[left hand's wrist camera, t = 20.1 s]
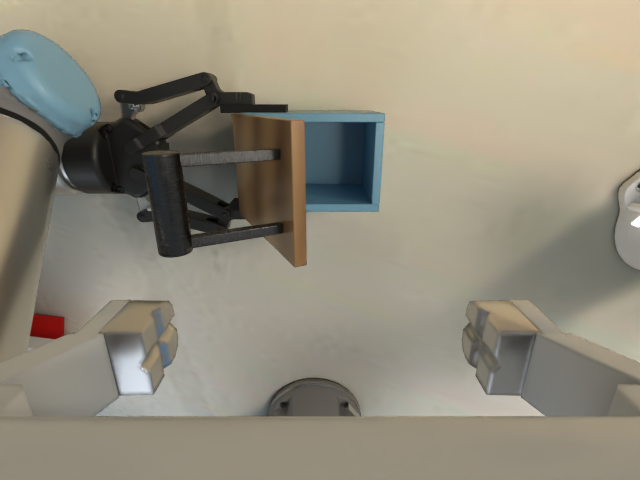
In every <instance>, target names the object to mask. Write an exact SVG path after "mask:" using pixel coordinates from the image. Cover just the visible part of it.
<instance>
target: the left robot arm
mask: <svg viewBox="0 0 640 480" xmlns="http://www.w3.org/2000/svg"><path fill="white" fill-rule="evenodd" d="M639 183H640V171H639V172H637V173H636V174H635V175H634V176H632V177H631V178H630V179H628V180H627V181H626V182H625V183H623V184H622V185H621V187H620V188H619V191H618V200H619V207H620V212H619V216H618V220H617V223H616V227H615V245H616V249H617V251H618V254H619V255H620V257H621V258H622V259H623V261H624V262H625V263H627V264H628V265H629V266H631V267H633V268H635V269H638V270H640V185H639V186H638V184H639ZM173 317H174V310H173V306H172V304H171V303H170V302H169V301H148V300H133V301H132V300H114V301H110V302H109V303H108V304H107V305H106V306H105V307H104V308H102V309H101V310H100V311H99V312H98V313H97V314H96V315H95V316H94V317H93V318H92V319H91V320H90V321H89V322H87V323H86V324H85V325H84V326H83V327H82V328H81V329H80V330H79V331H78V332H77V333H69V334H67V335H65V336H62V337H60V338H58V339H55V340H53V341H50V342H48V343H46V344H43V345H41V346H39V347H36V348H34V349H31V350H29V351H27V352H24V353H22V354H20V355H17V356H15V357H12V358H10V359H8V360H5V361H3V362H0V480H640V363H639V362H637V361H635V360H632V359H630V358H627V357H625V356H623V355H620V354H618V353H616V352H613V351H611V350H608V349H606V348H604V347H601V346H599V345H597V344H594V343H592V342H589V341H587V340H585V339H582V338H580V337H578V336H575V335H573V334H571V333H563V332H562V331H561V330H560V329H559V328H558V327H557V326H556V325H555V324H554V323H553V322H552V321H550V320H549V319H548V318H547V317H546V316H545V315H544V314H543V313H542V312H541V311H540V310H539V309H538V308H537V307H536V306H534V305H533V304H532V303H531V302H530V301H527V300H501V301H471V302H469V304H468V306H467V310H466V317H467V318H468V320H469V321H470V323H469V324H468V325H467V326H466V327H465V328H464V329H463V335H462V346H463V352H464V355H465V358H466V360H467V361H468V363H469V364H470V365H471V366H473V367H475V368H476V369H477V370H476V377H477V379H478V381H479V383H480V384H481V386H482V388H483V389H484V391H485V393H486V395H517V396H521V398H523V399H524V400H525V401H527V402H528V403H529V404H531V405H532V406H533V407H534V408H536V409H537V410H538V411H540V412H541V413H542V414H544V415H545V416H95V415H97V414H98V413H99V412H100V411H102V410H103V409H104V408H106V407H107V406H108V405H110V404H111V403H112V402H114V401H115V400H116V399H118V398H119V396H123V395H154V393H155V391H156V389H157V388H158V386H159V384H160V383H161V381H162V379H163V377H164V370H163V369H164V368H165V367H167V366H169V365H170V364H171V363H172V361H173V360H174V358H175V355H176V351H177V347H178V334H177V329H176V328H175V327H174V326H173V325H172V324H171V323H170V321H171V320H172V318H173Z"/></svg>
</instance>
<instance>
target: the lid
mask: <svg viewBox="0 0 640 480" xmlns="http://www.w3.org/2000/svg"><path fill="white" fill-rule="evenodd" d="M232 126H233V138H234V150H231V151H214V152H196V153H180V152H179V151H174V150H160V151H149V152H144V153H142V159H143V165H144V171H145V177H146V183H147V189H148V194H149V200H150V206H151V212H152V218H153V224H154V229H155V235H156V241H157V247H158V253H159V255H160V256H163V257H179V256H183V255H186V254H189V253H190V252H191V251H192V250H193V248H196V247H202V246H208V245H214V244H221V243H227V242H233V241H239V240H245V239H252V238H258V237H264V238H265V239H266V240H267V241H268V242H269V243H270V244H271V245H272V246H274V247H275V248H276V249H277V250H278V251H279V252H280V253H281V254H282V255H283V256H284V257H285V258H286V259H287V260H288V261H289V262H290V263H291V264H292V265H293V266H294V267H299V266H304V265H306V264H307V259H306V188H305V121H304V120H300V119H290V118H280V117H271V116H261V115H251V114H241V113H237V114H232ZM229 163H236V174H237V187H238V199H239V211H240V214H241V215H242V216H243V217H244V218H245V219H246V220H247V221H248V222H249V223H250V224H251V225H252V226H248V227H241V228H234V229H227V230H220V231H213V232H207V233H200V234H193V235H191V231H190V223H189V216H188V208H187V201H186V193H185V186H184V179H183V171H182V167H187V166H201V165H215V164H229Z"/></svg>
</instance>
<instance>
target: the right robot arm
mask: <svg viewBox="0 0 640 480" xmlns="http://www.w3.org/2000/svg"><path fill="white" fill-rule="evenodd" d="M203 89H204V90H205V93H206V96H204V97H202V98H201V99H199V100H198V101H196V102H194V103H193V104H191V105H189V106H188V107H186V108H185V109H183V110H181V111H180V112H178V113H177V114H175V115H173V116H172V117H170V118H168V119H167V120H165V121H164V122H162V123H160V124H158V125H156V126H154V127H152V128H149V127H148V126H146V125H145V124H143V123H142V122H140V121H139V120H138V119H136V114H137V113H138V112H142V111H144V109H145V104H154V103H158V102H162V101H165V100H169V99H172V98H175V97H179V96H182V95H186V94H189V93H193V92H196V91H200V90H203ZM114 97H115V99H116V101H118V102H119V103H120V104H121V115H122V118H120V119H118V120H117V121H115V122H97V120H98V119H99V117H100V114H101V105H100V100H99V97H98V94H97V92H96V90H95V88H94V86H93V84H92V82H91V81H90V79H89V77H88V76H87V75H86V73H85V72H84V71H83V69H82V68H81V67H80V66H79V65H78V63H77V62H76V61H75V60H73V59H72V58H71V56H69V55H68V54H67V53H66V52H65V51H64V50H63V49H62V48H61V47H60V46H58V45H57V44H56V43H54V42H53V41H51V40H50V39H48V38H46V37H44V36H43V35H40V34H38V33H35V32H32V31H29V30H13V31H10V32H8V33H6V34H3V35H1V36H0V362H3V361H5V360H8V359H10V358H12V357H15V356H17V355H20V354H22V353H24V352H27V349H28V343H29V338H30V332H31V326H32V320H33V315H34V309H35V303H36V298H37V292H38V286H39V280H40V275H41V269H42V263H43V257H44V252H45V246H46V240H47V235H48V229H49V223H50V217H51V212H52V206H53V200H54V194H55V193H64V194H80V193H89V194H128V195H131V196H133V197H135V198H137V202H138V205H139V209H140V212H139V213H138V214H137V219H138V220H139V221H141V222H151V221H153V218H152V212H151V206H150V200H149V194H148V189H147V183H146V177H145V171H144V165H143V159H142V153H144V152H149V151H160V150H169V143H166V141H165V140H166V139H167V138H169V137H171V136H172V135H174V134H175V133H176V132H178V131H179V130H181V129H183V128H184V127H186V126H188V125H189V124H191V123H193V122H194V121H196V120H198V119H199V118H201V117H203V116H204V115H206V114H207V113H209V112H211V111H212V110H214V109H216V108H217V107H219V106H220V109H221V113H244V112H255V113H286V112H288V105H255V95H254V94H252V93H248V92H223V91H222V90H221V89H220V87H219V85H218V83H217V78H216V76H215V75H213V74H209V73H205V72H202V73H199V74H195V75H192V76H189V77H185V78H182V79H178V80H175V81H172V82H168V83H165V84H161V85H158V86H155V87H151V88H148V89H144V90H141V91H129V90H117V91H116V92H115V93H114ZM184 186H185V193H186V201H187V203H189V204H191V205H193V206H195V207H197V208H199V209H201V210H203V211H205V212H208V213H210V214H212V215H214V216H211V215H207V214H203V213H199V212H195V211H191V210H188V216H189V223H190V229H195V230H199V231H203V232H213V231H220V230H227V229H228V228H229V227H230V223H231V220H233V219H245V218H244V217H243V216H242V215H241V214H240V211H239V199H238V198H234V199H233V201H232V202H231V203H230V204H229V203H227V202H225V201H223V200H221V199H219V198H217V197H215V196H213V195H211V194H209V193H207V192H205V191H203V190H201V189H199V188H197V187H195V186H193V185H191V184H189V183H187V182H185V181H184ZM215 216H216V217H215ZM268 416H361V414H360V408H359V404H358V402H357V400H356V398H355V397H354V396H353V394H352V393H351V392H350V391H349V390H347V389H346V388H345V387H343V386H341V385H340V384H337V383H335V382H332V381H329V380H324V379H304V380H300V381H296V382H293V383H291V384H289V385H287V386H285V387H284V388H282V389H281V390H280V391H279V392H278V393H277V394H276V395H275V396H274V398H273V399H272V401H271V404H270V407H269V412H268Z"/></svg>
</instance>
